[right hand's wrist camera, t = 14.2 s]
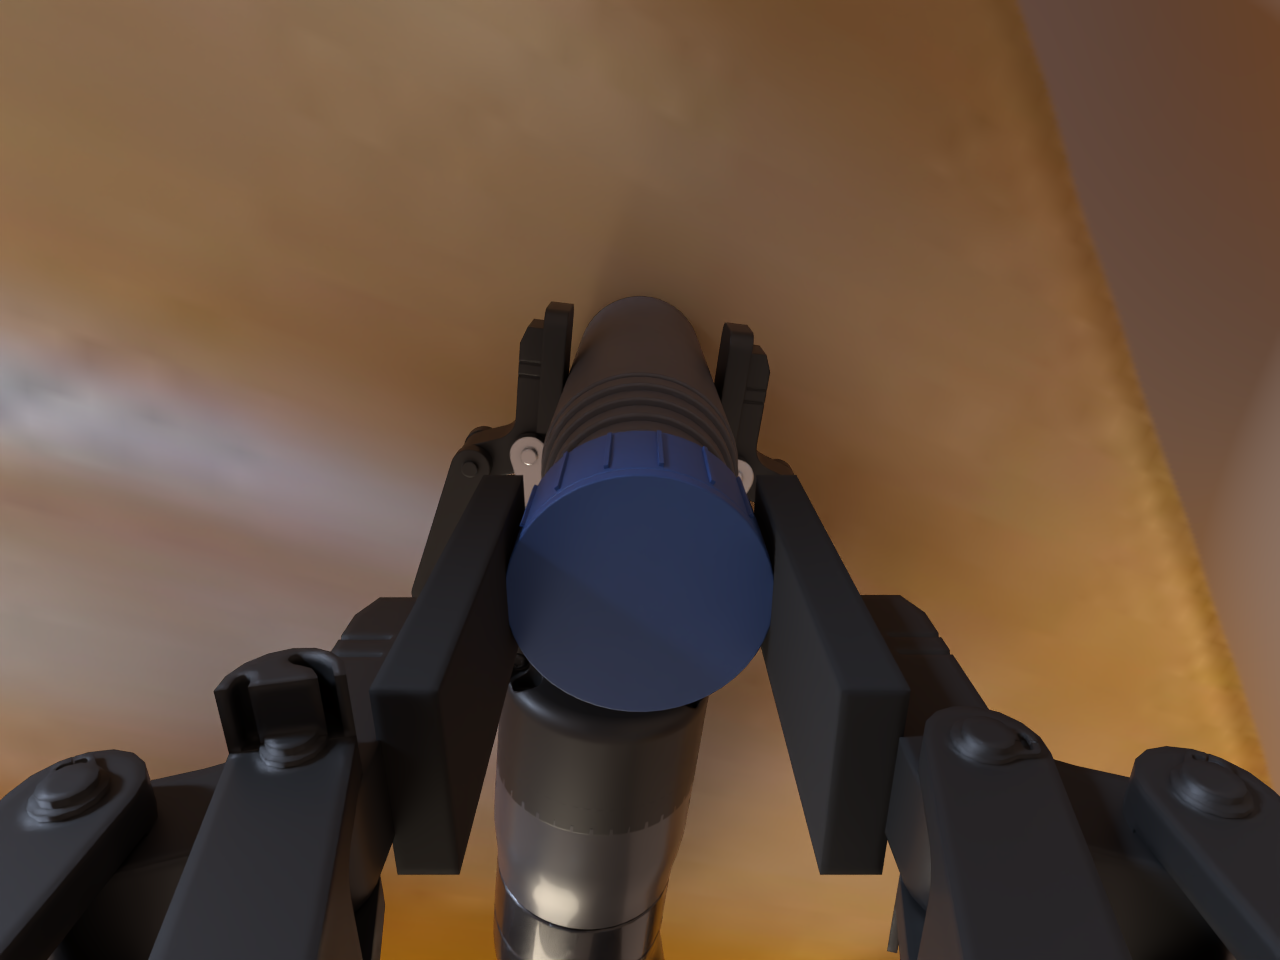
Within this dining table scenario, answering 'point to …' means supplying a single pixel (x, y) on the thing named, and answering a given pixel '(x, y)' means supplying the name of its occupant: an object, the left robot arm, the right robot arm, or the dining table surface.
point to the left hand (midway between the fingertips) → (648, 319)
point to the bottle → (639, 383)
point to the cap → (639, 573)
